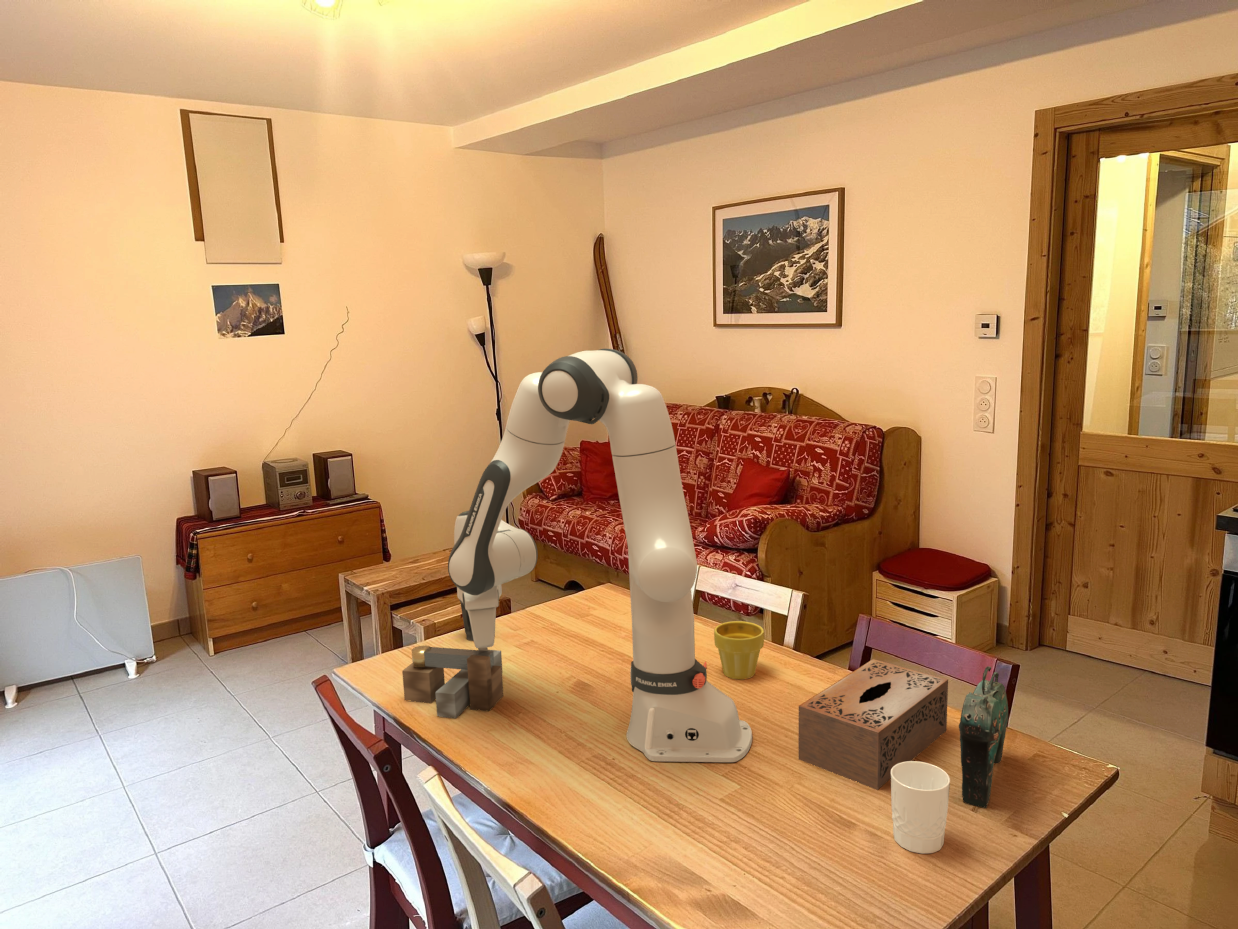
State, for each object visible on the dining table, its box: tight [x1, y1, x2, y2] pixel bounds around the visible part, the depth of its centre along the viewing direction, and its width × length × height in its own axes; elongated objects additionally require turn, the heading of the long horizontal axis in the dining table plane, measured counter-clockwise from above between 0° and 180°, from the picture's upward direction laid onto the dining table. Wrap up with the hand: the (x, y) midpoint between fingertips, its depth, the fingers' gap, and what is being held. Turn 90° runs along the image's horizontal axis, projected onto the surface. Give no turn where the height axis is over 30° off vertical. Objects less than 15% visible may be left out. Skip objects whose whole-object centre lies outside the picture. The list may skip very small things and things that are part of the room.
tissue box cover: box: [798, 658, 949, 791], centre depth 147 cm, size 26×14×10 cm, turn 136°
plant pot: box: [713, 620, 765, 680], centre depth 178 cm, size 10×10×10 cm
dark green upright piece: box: [958, 665, 1009, 809], centre depth 134 cm, size 20×6×20 cm, turn 147°
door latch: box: [401, 649, 504, 719], centre depth 174 cm, size 19×22×10 cm
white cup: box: [890, 760, 951, 854], centre depth 120 cm, size 8×8×10 cm
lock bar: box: [411, 645, 494, 670], centre depth 171 cm, size 17×4×3 cm, turn 76°
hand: (483, 652), depth 172 cm, fingers closed
